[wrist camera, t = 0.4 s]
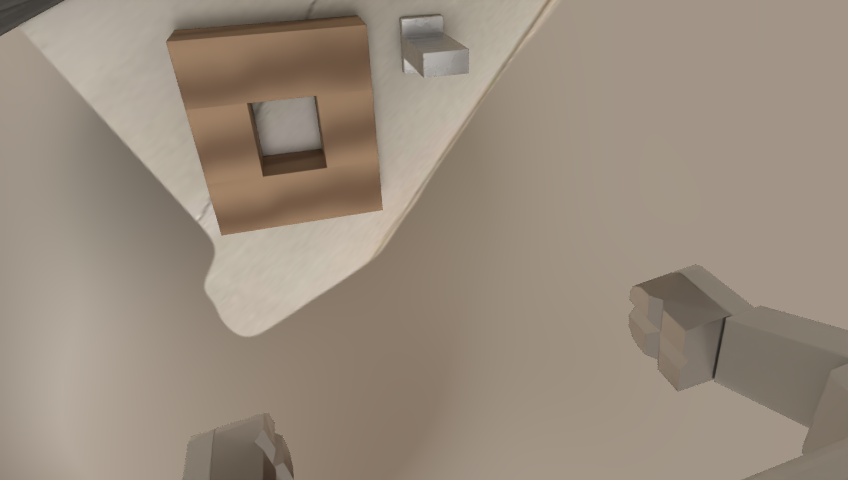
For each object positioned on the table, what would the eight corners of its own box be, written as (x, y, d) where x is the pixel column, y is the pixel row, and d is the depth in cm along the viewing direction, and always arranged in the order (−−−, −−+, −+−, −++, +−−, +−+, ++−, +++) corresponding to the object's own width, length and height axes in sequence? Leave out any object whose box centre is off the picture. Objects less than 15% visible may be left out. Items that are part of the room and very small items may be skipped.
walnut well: (174, 30, 45) (166, 41, 41) (357, 15, 48) (366, 24, 44) (224, 211, 55) (221, 235, 51) (374, 189, 58) (382, 209, 54)
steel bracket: (399, 17, 49) (422, 34, 42) (439, 14, 50) (468, 30, 43) (402, 71, 52) (424, 95, 45) (440, 67, 53) (468, 90, 46)
